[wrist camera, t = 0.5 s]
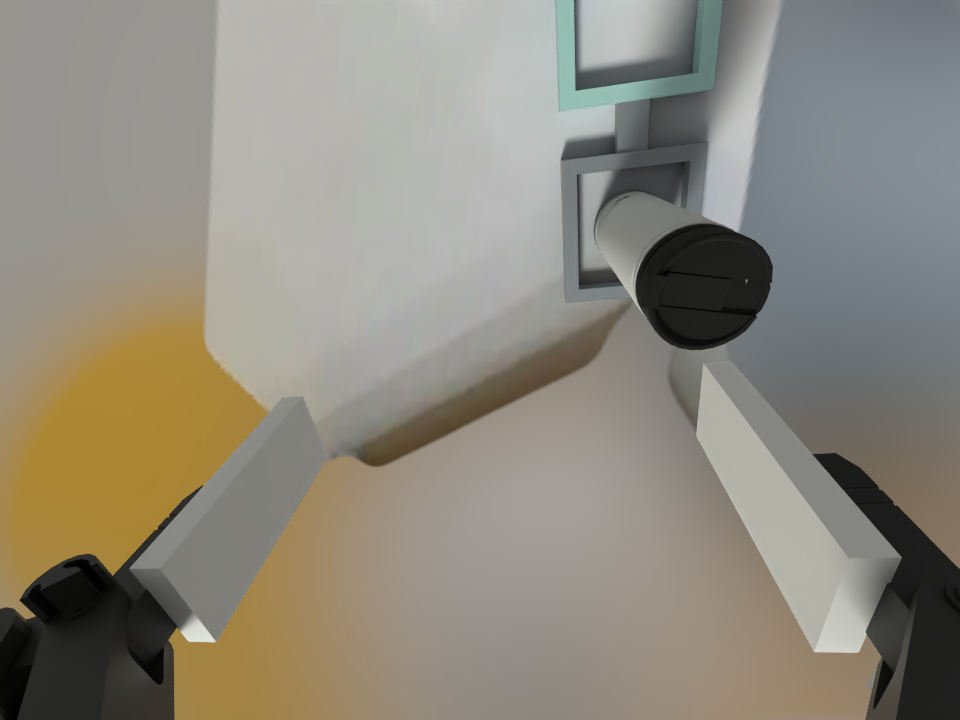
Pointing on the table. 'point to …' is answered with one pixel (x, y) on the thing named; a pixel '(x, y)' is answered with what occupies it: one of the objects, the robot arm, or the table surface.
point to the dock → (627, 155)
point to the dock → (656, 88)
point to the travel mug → (683, 269)
